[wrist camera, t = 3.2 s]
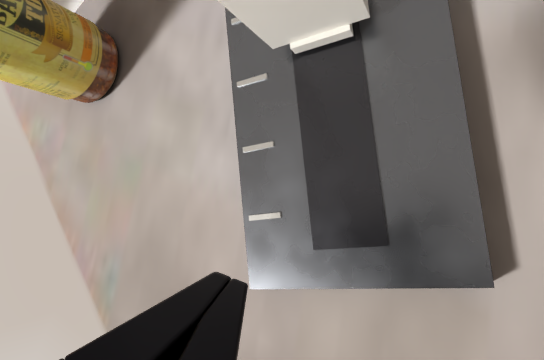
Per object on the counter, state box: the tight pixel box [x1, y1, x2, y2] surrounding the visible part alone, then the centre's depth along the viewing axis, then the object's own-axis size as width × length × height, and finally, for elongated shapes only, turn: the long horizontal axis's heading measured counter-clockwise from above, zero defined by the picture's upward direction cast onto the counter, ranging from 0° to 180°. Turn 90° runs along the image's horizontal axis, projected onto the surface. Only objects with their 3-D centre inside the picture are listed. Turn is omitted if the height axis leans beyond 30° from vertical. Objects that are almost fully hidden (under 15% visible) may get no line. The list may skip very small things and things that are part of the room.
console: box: [225, 0, 494, 289], centre depth 18 cm, size 24×12×4 cm, turn 7°
